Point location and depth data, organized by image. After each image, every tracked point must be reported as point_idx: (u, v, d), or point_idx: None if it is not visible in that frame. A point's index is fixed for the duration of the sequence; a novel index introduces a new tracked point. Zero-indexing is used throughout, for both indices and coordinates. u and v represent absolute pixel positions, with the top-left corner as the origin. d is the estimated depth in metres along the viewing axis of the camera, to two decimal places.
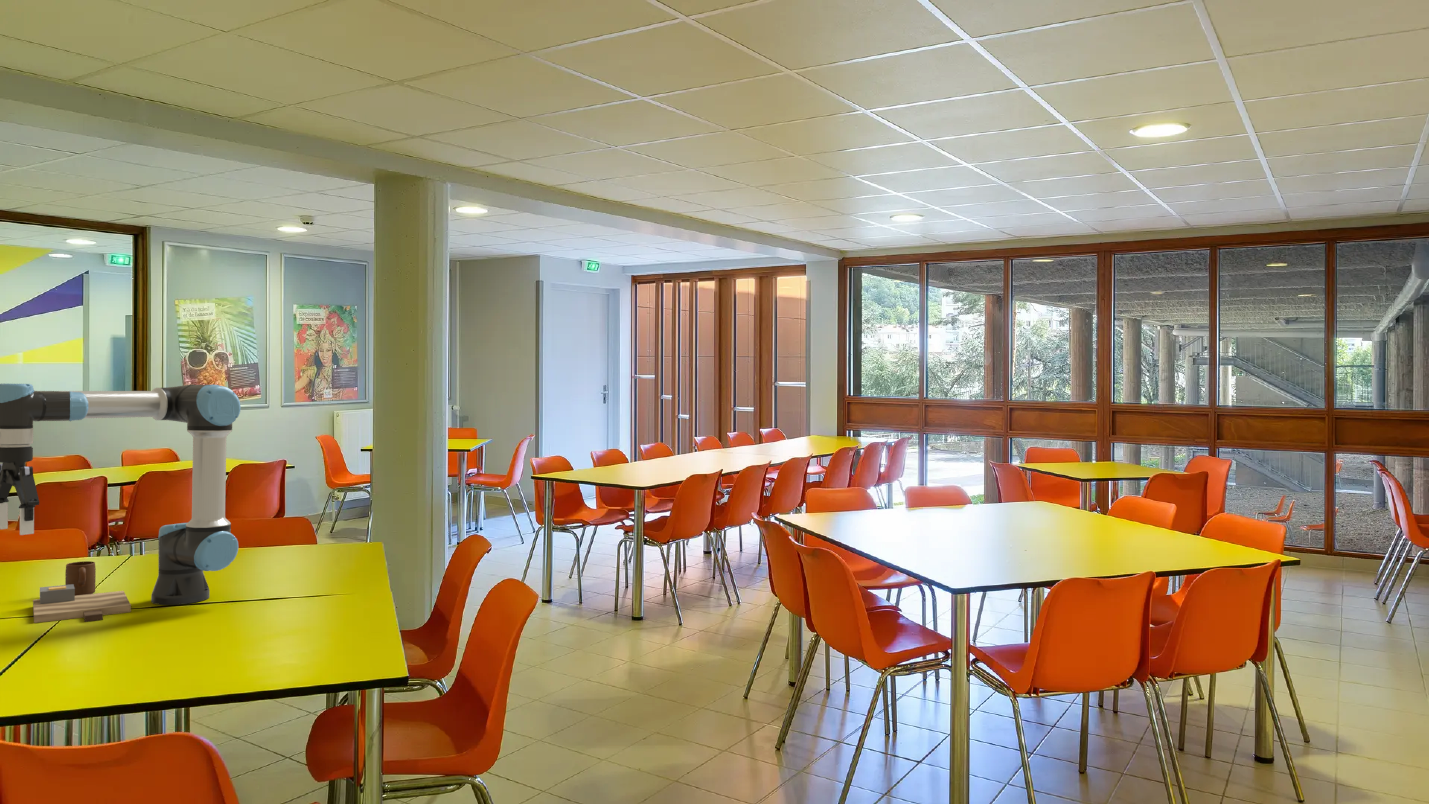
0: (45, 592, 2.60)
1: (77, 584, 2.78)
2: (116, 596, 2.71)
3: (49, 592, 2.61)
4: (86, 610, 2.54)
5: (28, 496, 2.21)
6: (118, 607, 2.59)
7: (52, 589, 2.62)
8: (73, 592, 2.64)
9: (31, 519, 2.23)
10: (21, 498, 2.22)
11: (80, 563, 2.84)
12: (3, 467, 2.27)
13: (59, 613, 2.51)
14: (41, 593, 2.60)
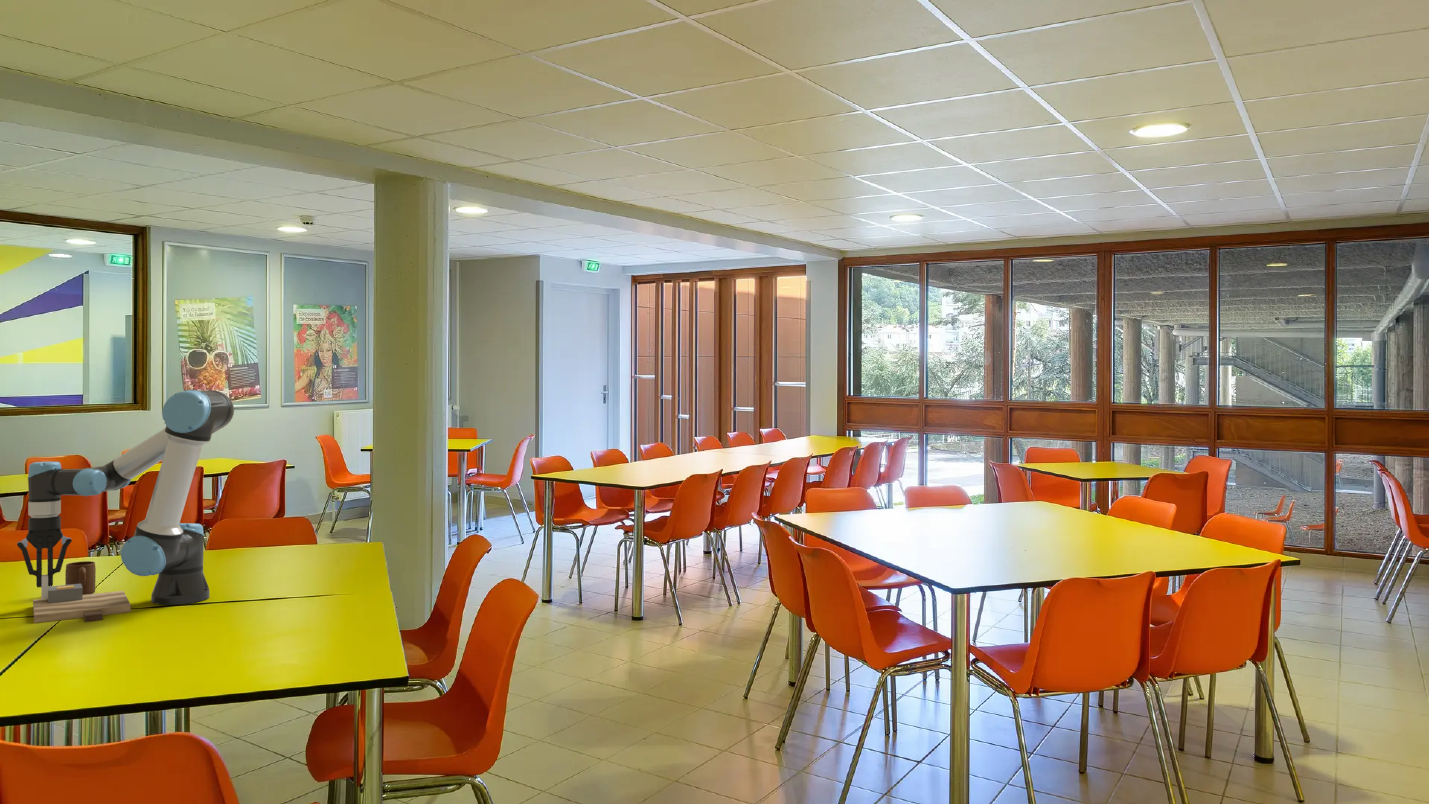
0: (53, 591, 2.62)
1: None
2: (116, 596, 2.71)
3: (57, 591, 2.62)
4: (86, 610, 2.54)
5: None
6: (118, 607, 2.59)
7: (60, 588, 2.63)
8: (81, 591, 2.66)
9: None
10: None
11: (80, 563, 2.84)
12: None
13: (59, 613, 2.51)
14: (49, 592, 2.61)
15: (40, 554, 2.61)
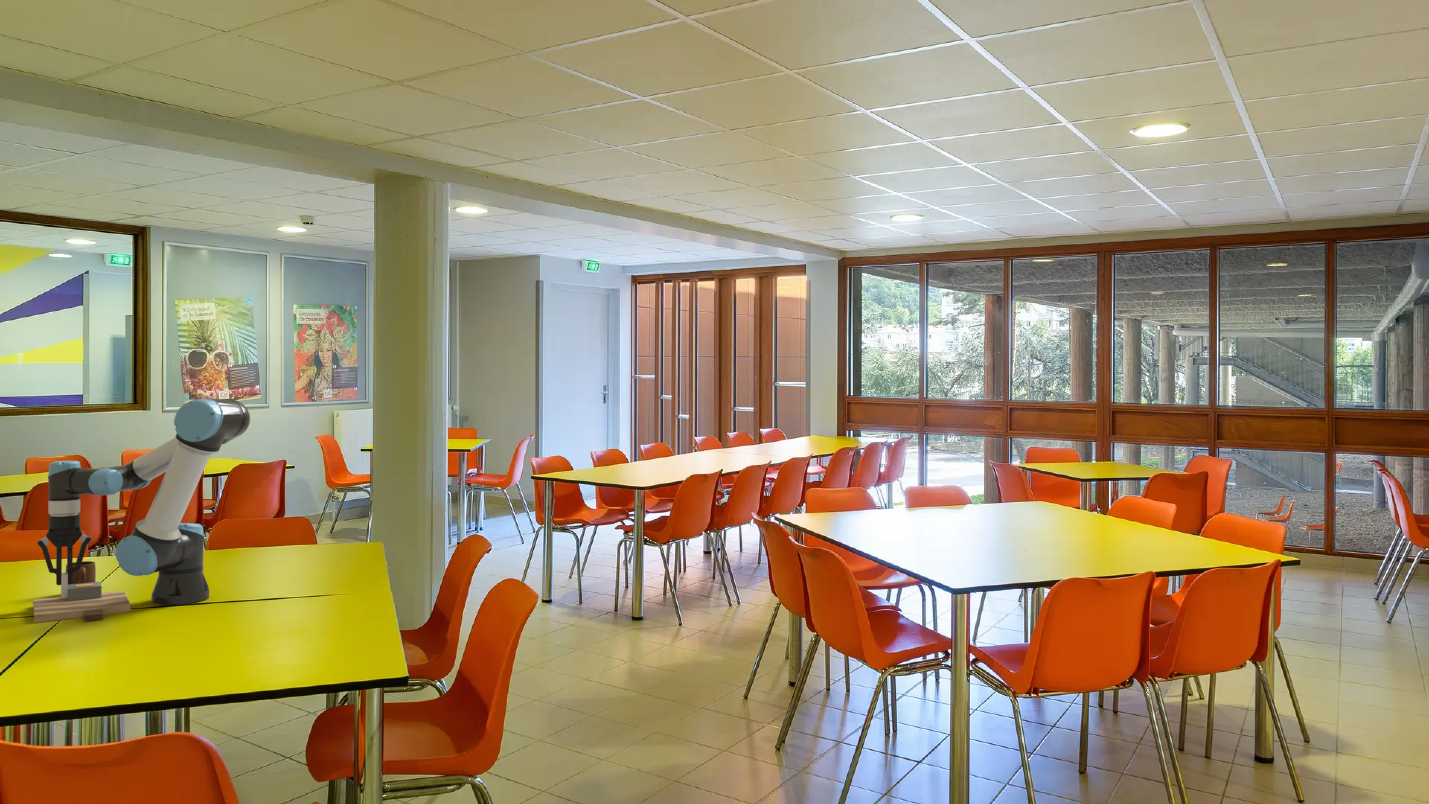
0: (73, 589, 2.64)
1: None
2: (116, 596, 2.71)
3: (76, 589, 2.65)
4: (86, 610, 2.54)
5: None
6: (118, 607, 2.59)
7: (79, 586, 2.66)
8: (100, 589, 2.68)
9: None
10: None
11: None
12: None
13: (59, 613, 2.51)
14: (69, 590, 2.64)
15: (60, 552, 2.64)
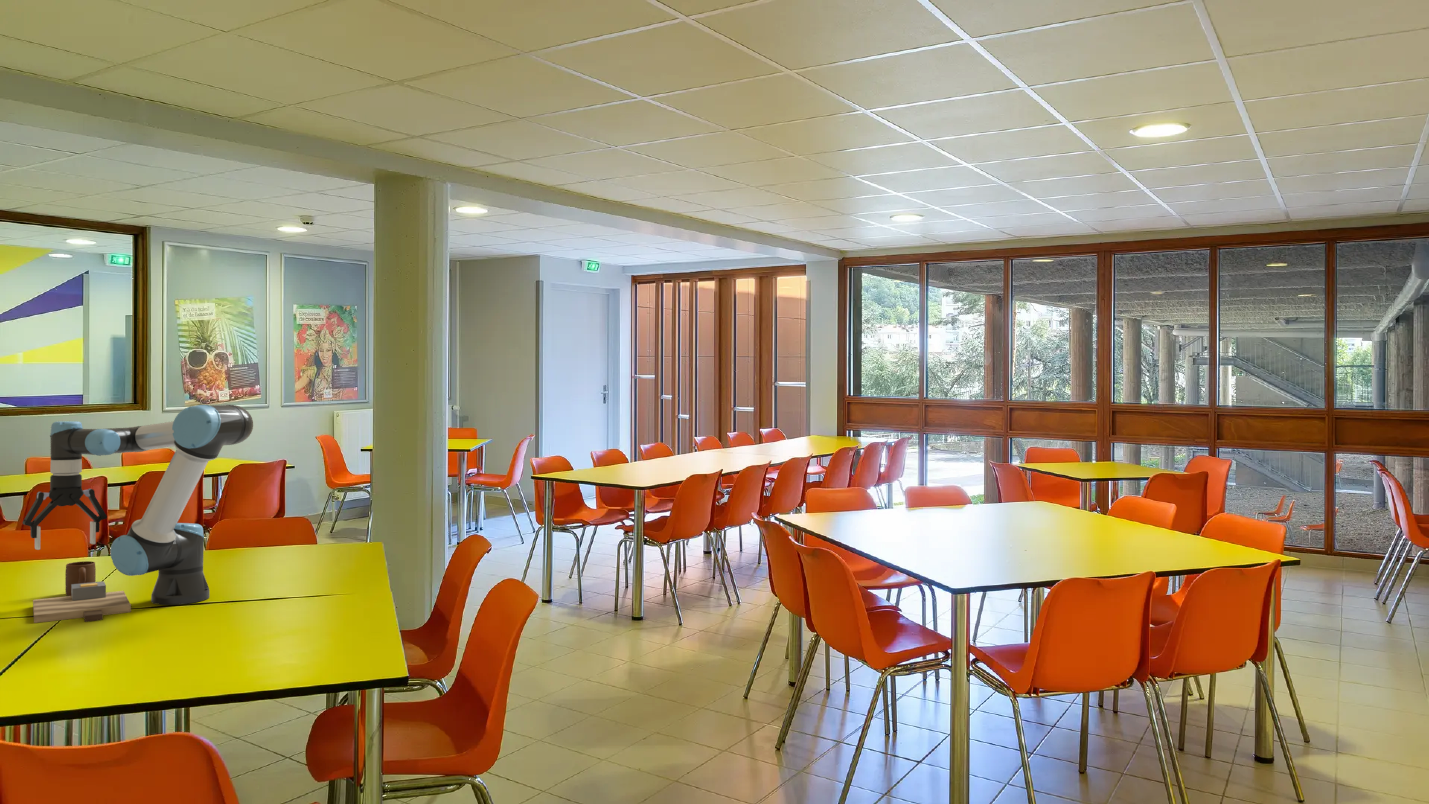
0: (77, 589, 2.65)
1: None
2: (116, 596, 2.71)
3: (81, 588, 2.65)
4: (86, 610, 2.54)
5: (26, 516, 2.62)
6: (118, 607, 2.59)
7: (84, 586, 2.67)
8: (104, 589, 2.69)
9: (31, 537, 2.63)
10: None
11: (80, 563, 2.84)
12: None
13: (59, 613, 2.51)
14: (73, 590, 2.64)
15: (51, 509, 2.65)
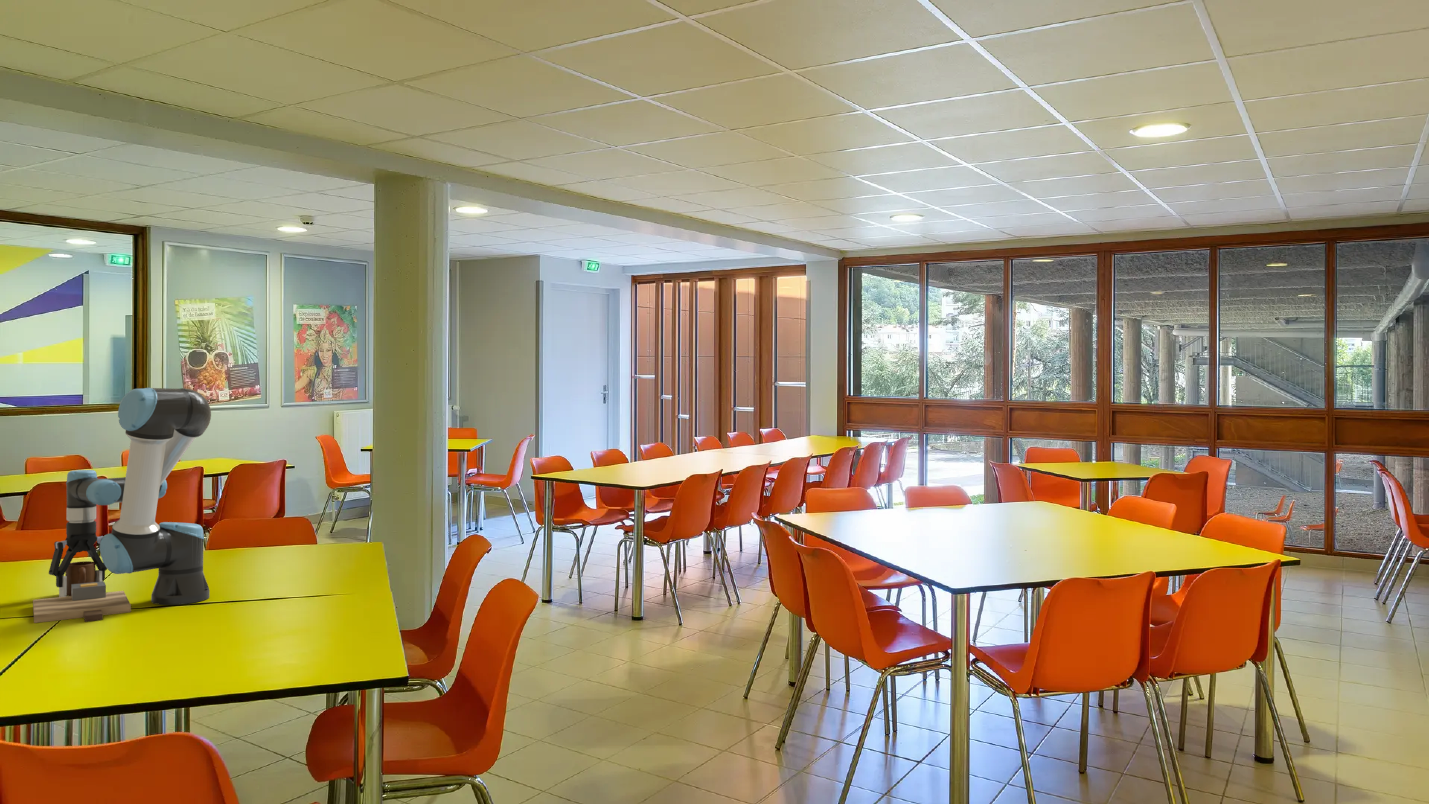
0: (77, 589, 2.65)
1: None
2: (116, 596, 2.71)
3: (81, 588, 2.65)
4: (86, 610, 2.54)
5: (50, 567, 2.73)
6: (118, 607, 2.59)
7: (84, 586, 2.67)
8: (104, 589, 2.69)
9: (58, 586, 2.74)
10: None
11: (80, 563, 2.84)
12: None
13: (59, 613, 2.51)
14: (73, 590, 2.64)
15: (72, 557, 2.77)
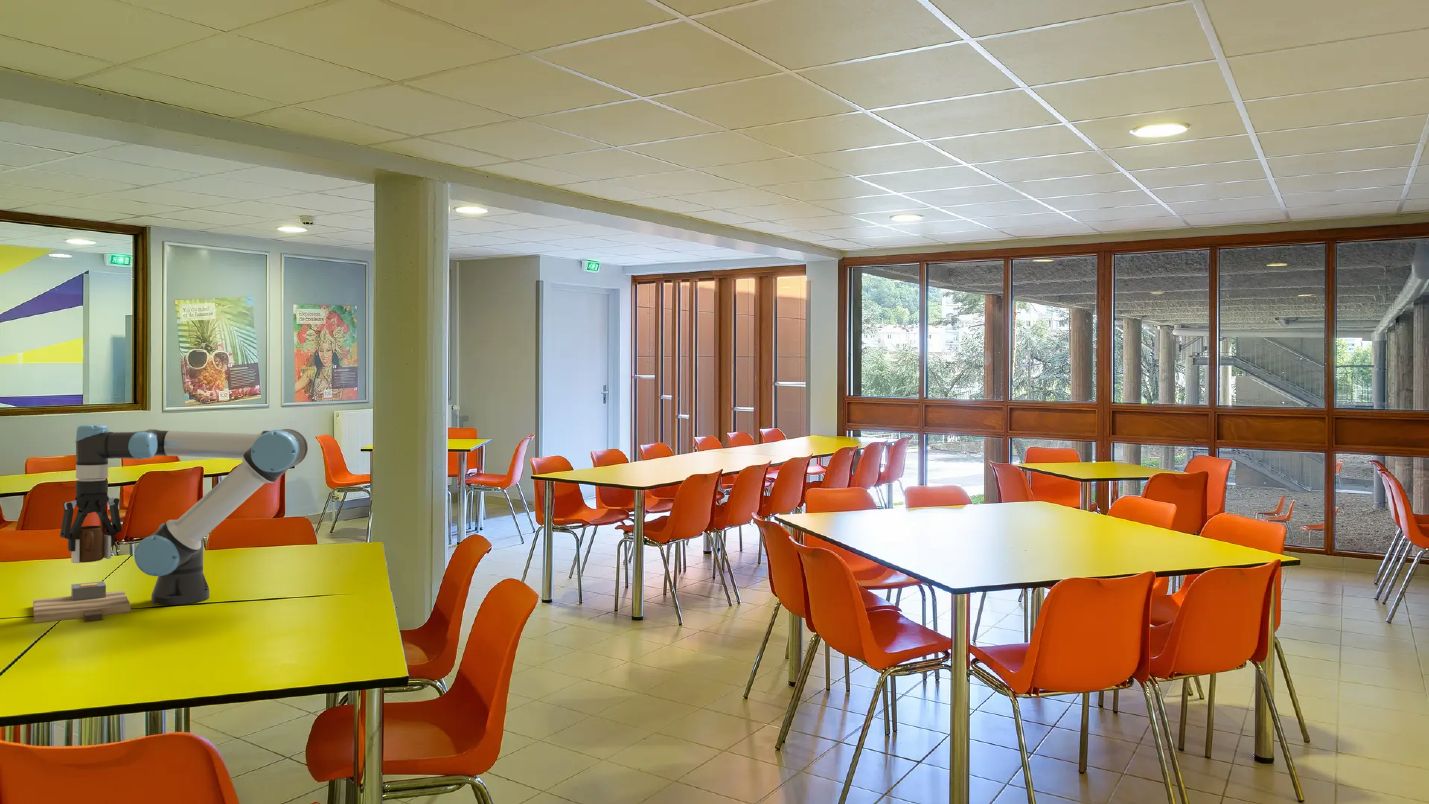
0: (77, 589, 2.65)
1: (84, 549, 2.57)
2: (116, 596, 2.71)
3: (81, 588, 2.65)
4: (86, 610, 2.54)
5: (61, 530, 2.53)
6: (118, 607, 2.59)
7: (84, 586, 2.67)
8: (104, 589, 2.69)
9: (70, 550, 2.54)
10: None
11: (87, 527, 2.63)
12: None
13: (59, 613, 2.51)
14: (73, 590, 2.64)
15: (83, 518, 2.56)
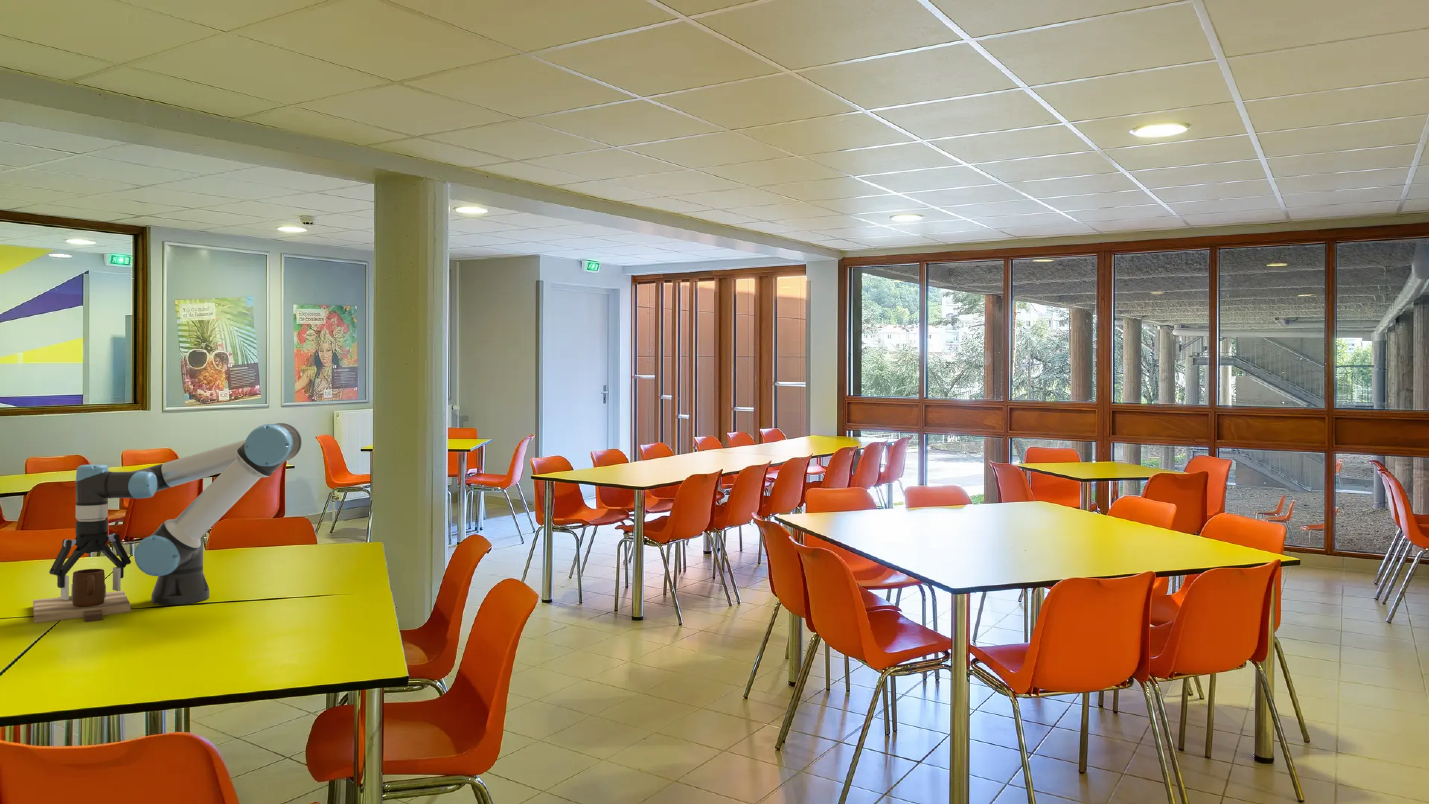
0: None
1: (85, 593, 2.57)
2: (116, 596, 2.71)
3: None
4: (86, 610, 2.54)
5: (52, 566, 2.52)
6: (118, 607, 2.59)
7: None
8: None
9: (59, 586, 2.52)
10: None
11: (88, 571, 2.63)
12: None
13: (59, 613, 2.51)
14: None
15: (78, 557, 2.55)
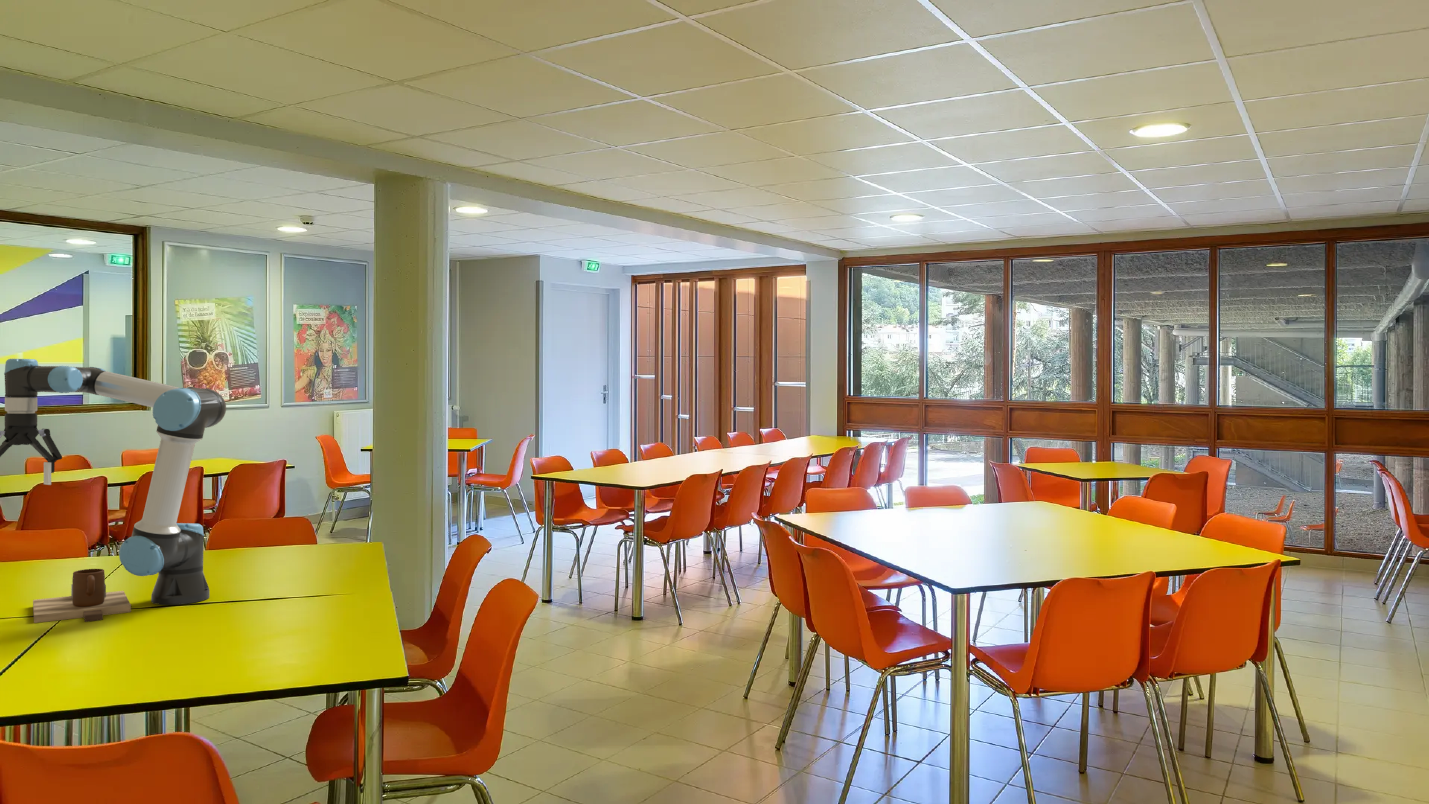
0: None
1: (85, 593, 2.57)
2: (116, 596, 2.71)
3: None
4: (86, 610, 2.54)
5: None
6: (118, 607, 2.59)
7: None
8: None
9: None
10: None
11: (88, 571, 2.63)
12: None
13: (59, 613, 2.51)
14: None
15: (7, 447, 2.60)
